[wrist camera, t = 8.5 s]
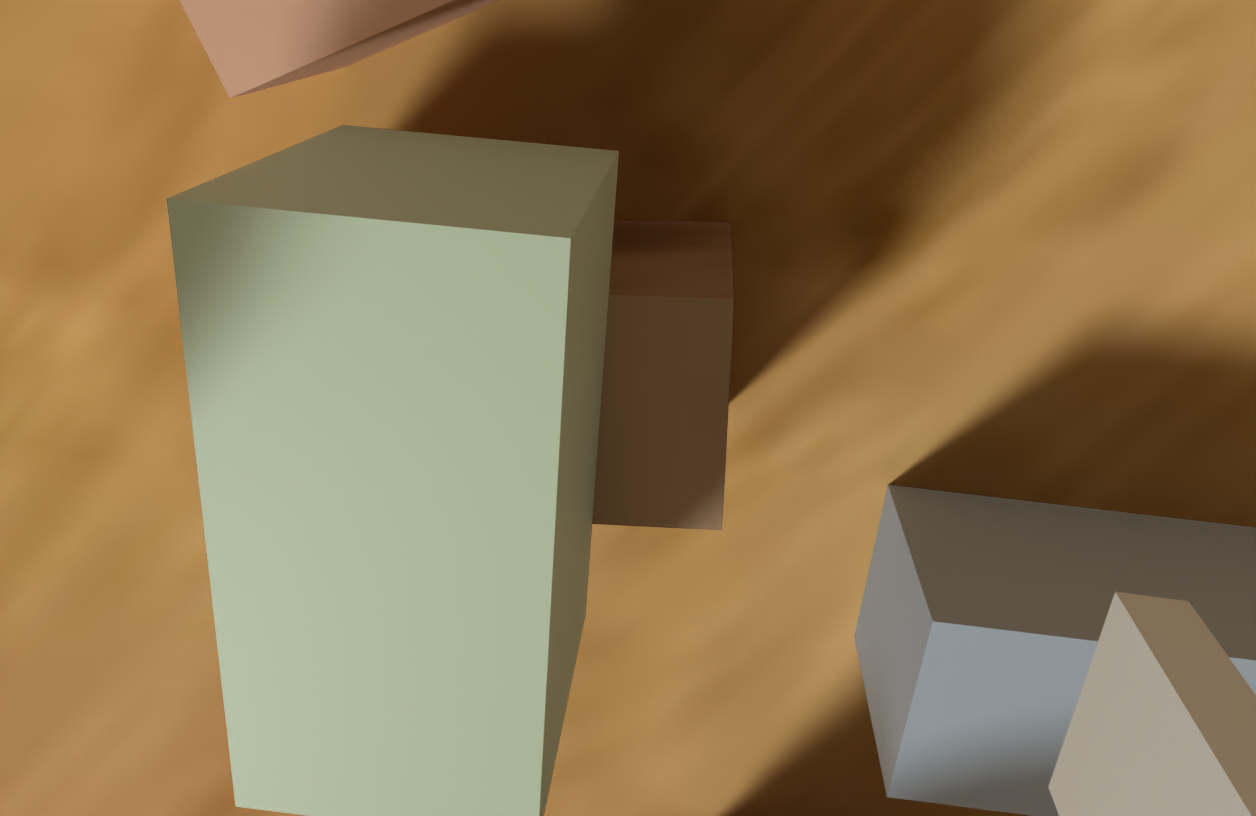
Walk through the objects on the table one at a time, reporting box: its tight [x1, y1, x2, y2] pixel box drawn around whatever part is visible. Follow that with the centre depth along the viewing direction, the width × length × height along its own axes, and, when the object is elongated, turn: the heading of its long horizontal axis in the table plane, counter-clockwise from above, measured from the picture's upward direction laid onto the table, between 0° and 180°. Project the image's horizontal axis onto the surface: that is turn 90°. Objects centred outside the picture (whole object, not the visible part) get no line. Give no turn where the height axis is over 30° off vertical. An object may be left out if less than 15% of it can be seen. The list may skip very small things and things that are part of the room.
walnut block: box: [592, 219, 734, 530], centre depth 18 cm, size 8×4×5 cm, turn 90°
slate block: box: [854, 485, 1256, 816], centre depth 20 cm, size 8×4×5 cm, turn 85°
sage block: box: [167, 125, 619, 816], centre depth 14 cm, size 8×4×5 cm, turn 176°
